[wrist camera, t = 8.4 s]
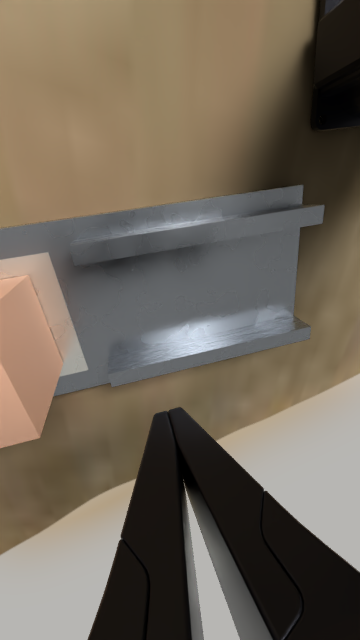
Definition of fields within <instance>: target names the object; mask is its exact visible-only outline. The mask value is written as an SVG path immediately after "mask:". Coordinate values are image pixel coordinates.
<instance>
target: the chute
mask: <svg viewBox="0 0 360 640" xmlns="http://www.w3.org/2000/svg"><path fill="white" fill-rule="evenodd" d="M302 197H303V185H296V186H288V187H281V188H274V189H267V190H260V191H253V192H246V193H239V194H233V195H226V196H219V197H212V198H205V199H198V200H191V201H184V202H177V203H170V204H163V205H157V206H150V207H143V208H136V209H129V210H122V211H115V212H108V213H101V214H94V215H88V216H81V217H74V218H67V219H60V220H53V221H46V222H39V223H32V224H25V225H18V226H12V227H5V228H0V280H2V279H8V278H14V277H20V276H26V275H29V277H30V280H31V283H32V285H33V288H34V290H35V293H36V295H37V298H38V300H39V303H40V305H41V308H42V311H43V313H44V316H45V318H46V321H47V323H48V326H49V328H50V331H51V333H52V336H53V339H54V341H55V344H56V346H57V349H58V351H59V354H60V356H61V359H62V361H63V366H62V370H61V373H60V376H59V379H58V382H57V386H56V389H55V392H54V395H53V396H57V395H61V394H65V393H69V392H74V391H78V390H82V389H86V388H90V387H94V386H98V385H103V384H107V383H111V386H112V387H114V386H119V385H123V384H127V383H131V382H135V381H139V380H143V379H147V378H151V377H155V376H159V375H164V374H168V373H172V372H176V371H180V370H184V369H188V368H192V367H196V366H200V365H205V364H209V363H213V362H217V361H221V360H225V359H229V358H233V357H237V356H241V355H246V354H250V353H254V352H258V351H262V350H266V349H270V348H274V347H278V346H282V345H287V344H291V343H295V342H299V341H303V340H307V339H310V331H311V326H309V325H308V324H306V323H305V322H303V321H302V320H300V319H298V318H297V317H295V316H294V301H295V288H296V275H297V262H298V249H299V236H300V227H305V226H311V225H317V224H323V215H324V206H325V205H309V204H302Z"/></svg>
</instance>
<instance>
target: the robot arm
mask: <svg viewBox="0 0 360 640" xmlns="http://www.w3.org/2000/svg"><path fill="white" fill-rule="evenodd" d="M313 83H314V89H313V101H312V114H311V127H312V129H313V130H314V131H317V132H319V131H327V130H336V129H345V128H354V127H360V0H321V2H320V14H319V24H318V32H317V44H316V57H315V70H314V82H313ZM320 116H321V118H322V124H320V123H319V119H320ZM183 480H184V481H183ZM184 484H185V486H184ZM185 488H186V491H187V494H188V497H189V499H190V502H191V505H192V508H193V511H194V513H195V516H196V518H197V521H198V524H199V527H200V530H201V533H202V535H203V538H204V541H205V544H206V546H207V549H208V552H209V555H210V557H211V560H212V563H213V566H214V568H215V571H216V574H217V577H218V579H219V582H220V585H221V588H222V591H223V593H224V596H225V599H226V602H227V604H228V607H229V610H230V613H231V615H232V618H233V621H234V624H235V626H236V629H237V632H238V635H239V637H240V640H360V572H359V571H358V570H357V569H355V568H354V567H353V566H352V565H350V564H349V563H348V562H347V561H345V560H344V559H343V558H342V557H341V556H339V555H338V554H337V553H336V552H334V551H333V550H332V549H331V548H329V547H328V546H327V545H325V544H324V543H323V542H322V541H321V540H320V539H319V538H317V537H316V536H315V535H314V534H313V533H311V532H310V531H309V530H308V529H307V528H305V527H304V526H303V525H302V524H301V523H300V522H298V521H297V520H296V519H295V518H294V517H293V516H292V515H291V514H290V513H289V512H288V511H287V510H286V509H285V508H283V507H282V506H281V505H280V504H279V503H278V502H277V501H276V500H275V499H274V498H273V497H272V496H271V495H270V494H269V493H268V492H267V491H264V489H263V487H262V486H261V485H260V484H259V483H258V482H257V481H255V479H253V478H252V476H250V474H249V473H248V472H246V471H245V470H244V469H243V468H242V467H241V466H240V465H239V464H238V463H237V462H236V461H235V460H234V459H233V458H232V457H231V456H230V455H229V454H228V453H227V452H226V451H225V450H224V449H223V448H222V447H221V446H220V445H219V444H218V443H217V442H216V441H215V440H214V439H213V438H212V437H211V436H210V435H209V434H208V433H207V432H206V431H205V430H204V429H203V428H202V427H201V426H200V425H199V424H198V423H197V422H196V421H195V420H194V419H193V418H192V417H191V416H190V415H189V414H188V413H187V412H185V411H184V410H183V409H182V408H181V407H179V408H175V409H171V410H169V411H168V412H167V411H164V412H160V413H156V414H155V415H154V417H153V420H152V424H151V428H150V431H149V435H148V438H147V442H146V446H145V449H144V453H143V457H142V460H141V464H140V468H139V471H138V475H137V478H136V482H135V486H134V489H133V493H132V497H131V500H130V504H129V508H128V511H127V515H126V518H125V522H124V526H123V529H122V533H121V540H120V541H119V543H118V547H117V551H116V554H115V558H114V561H113V565H112V568H111V572H110V575H109V578H108V582H107V585H106V588H105V591H104V594H103V597H102V600H101V603H100V606H99V609H98V612H97V615H96V618H95V621H94V623H93V626H92V629H91V632H90V634H89V637H88V640H204V637H203V629H202V621H201V613H200V605H199V597H198V589H197V581H196V574H195V564H194V556H193V548H192V540H191V532H190V524H189V517H188V508H187V500H186V493H185Z"/></svg>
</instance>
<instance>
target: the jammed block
mask: <svg viewBox="0 0 360 640" xmlns="http://www.w3.org/2000/svg"><path fill="white" fill-rule="evenodd" d="M62 366H63V361H62V359H61V356H60V354H59V351H58V349H57V346H56V344H55V341H54V339H53V336H52V333H51V331H50V328H49V326H48V323H47V321H46V318H45V316H44V313H43V311H42V308H41V305H40V303H39V300H38V298H37V295H36V293H35V290H34V288H33V285H32V283H31V280H30V277H29V275H26V276H20V277H14V278H8V279H2V280H0V448H3V447H7V446H11V445H15V444H19V443H22V442H26V441H30V440H34V439H38V438H40V436H41V433H42V430H43V427H44V424H45V421H46V417H47V414H48V411H49V408H50V405H51V401H52V398H53V395H54V392H55V389H56V386H57V382H58V379H59V376H60V373H61V370H62Z"/></svg>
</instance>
